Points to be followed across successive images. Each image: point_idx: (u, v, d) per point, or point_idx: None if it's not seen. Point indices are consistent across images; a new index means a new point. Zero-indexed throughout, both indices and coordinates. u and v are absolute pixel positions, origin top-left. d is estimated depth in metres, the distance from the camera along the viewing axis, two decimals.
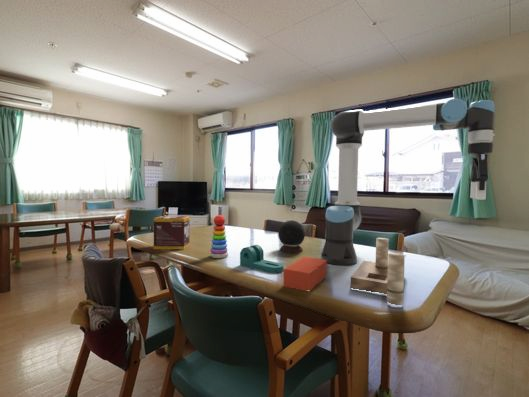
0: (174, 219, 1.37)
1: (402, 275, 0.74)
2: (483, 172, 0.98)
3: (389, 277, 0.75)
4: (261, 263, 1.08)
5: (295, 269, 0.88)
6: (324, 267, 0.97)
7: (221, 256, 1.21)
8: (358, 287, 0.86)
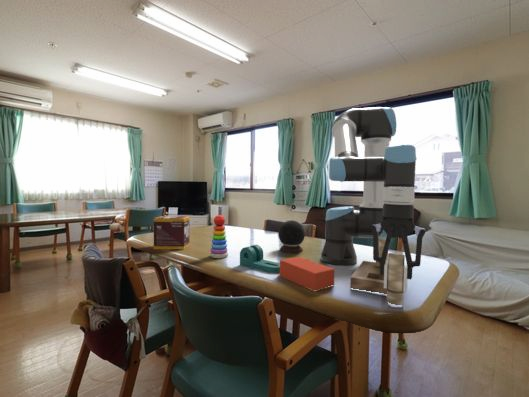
0: (174, 219, 1.37)
1: (402, 275, 0.74)
2: None
3: (389, 277, 0.75)
4: (261, 263, 1.08)
5: (321, 270, 0.88)
6: None
7: (221, 256, 1.21)
8: (358, 287, 0.86)
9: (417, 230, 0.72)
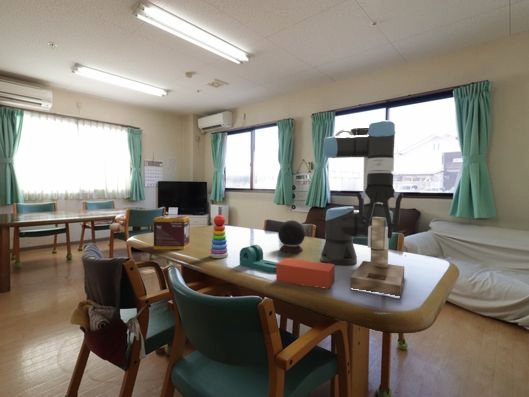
0: (174, 219, 1.37)
1: (383, 235, 0.85)
2: None
3: (372, 237, 0.86)
4: (260, 263, 1.08)
5: (328, 267, 0.91)
6: None
7: (221, 256, 1.21)
8: (358, 287, 0.86)
9: (396, 195, 0.83)
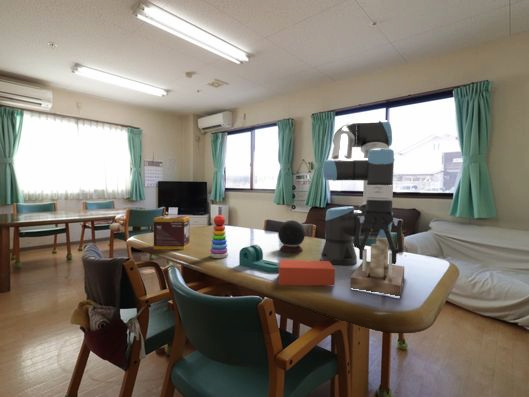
0: (174, 219, 1.37)
1: (382, 263, 0.86)
2: None
3: (371, 265, 0.87)
4: (260, 263, 1.08)
5: (329, 265, 0.94)
6: None
7: (221, 256, 1.21)
8: (358, 287, 0.86)
9: (395, 221, 0.84)
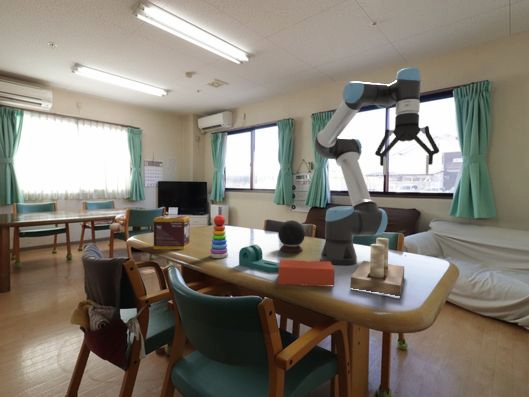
0: (174, 219, 1.37)
1: (382, 263, 0.86)
2: None
3: (371, 265, 0.87)
4: (260, 263, 1.08)
5: (329, 265, 0.93)
6: None
7: (221, 256, 1.21)
8: (358, 287, 0.86)
9: (423, 130, 0.96)
